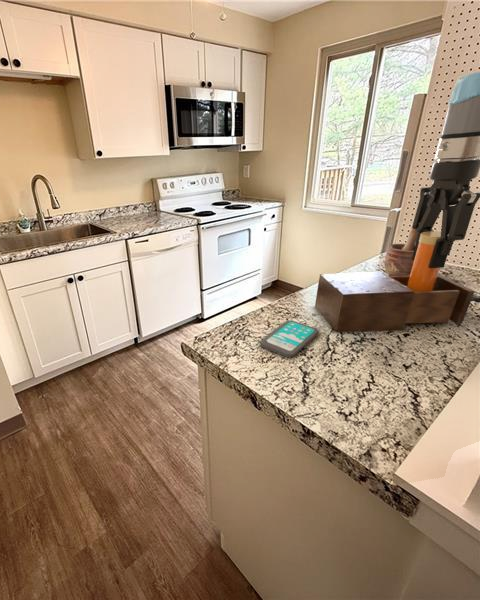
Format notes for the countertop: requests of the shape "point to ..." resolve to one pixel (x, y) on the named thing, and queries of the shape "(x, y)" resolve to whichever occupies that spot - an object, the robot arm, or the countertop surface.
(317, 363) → the countertop surface
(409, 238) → the mortar and pestle
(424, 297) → the drawer
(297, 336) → the smartphone
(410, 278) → the spice jar
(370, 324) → the cabinet
